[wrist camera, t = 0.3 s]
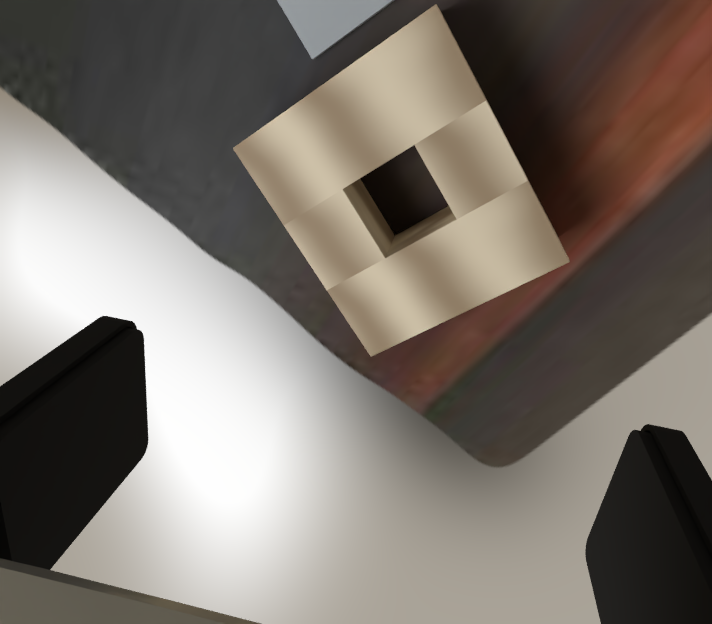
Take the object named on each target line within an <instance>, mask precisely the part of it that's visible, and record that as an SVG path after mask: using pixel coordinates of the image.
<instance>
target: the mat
mask: <svg viewBox="0 0 712 624" xmlns="http://www.w3.org/2000/svg"><path fill="white" fill-rule="evenodd" d="M277 1H278V2H279V4H280V6H281V7H282V9H283V11H284V12H285V14H286V16H287V18H288V19H289V21H290V23H291V24H292V26H293V28H294V29H295V31H296V33H297V34H298V36H299V38H300V39H301V41H302V43H303V44H304V46H305V48H306V49H307V51H308V53H309V55H310V56H311V58H312V59H316V58H317V57H319V56H320V55H321V54H323V53H324V52H325V51H327V50H328V49H329V48H331V47H332V46H334V45H335V44H336V43H338V42H339V41H340V40H342V39H343V38H344V37H346V36H347V35H349V34H350V33H351V32H353V31H354V30H355V29H357V28H358V27H359V26H361V25H362V24H363V23H365V22H366V21H368V20H369V19H370V18H372V17H373V16H374V15H376V14H377V13H378V12H380V11H381V10H383V9H384V8H385V7H387V6H388V5H389V4H391V3H392V2H393V1H395V0H277Z"/></svg>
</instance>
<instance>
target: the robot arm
mask: <svg viewBox="0 0 712 624" xmlns="http://www.w3.org/2000/svg"><path fill="white" fill-rule="evenodd" d="M147 424H148V423H147V402H146V379H145V356H144V338H143V333H142V332H141V331H140V330H137V328H136V325H135V323H133V322H132V321H128V320H123V319H118V318H113V317H108V316H102V317H100V318H98V319H97V320H95V321H94V322H93V323H91V324H90V325H88V326H87V327H85V328H84V329H83V330H81V331H80V332H78V333H77V334H75V335H74V336H72V337H71V338H69V339H68V340H67V341H65V342H64V343H62V344H61V345H60V346H58V347H56V348H55V349H54V350H52V351H51V352H49V353H48V354H47V355H45V356H43V357H42V358H41V359H39V360H38V361H36V362H35V363H33V364H32V365H31V366H29V367H28V368H26V369H25V370H23V371H22V372H21V373H19V374H18V375H16V376H15V377H13V378H12V379H10V380H9V381H7V382H6V383H5V384H3V385H2V386H0V624H260V623H256V622H252V621H249V620H244V619H241V618H237V617H233V616H229V615H225V614H221V613H218V612H214V611H210V610H206V609H202V608H198V607H194V606H190V605H186V604H182V603H179V602H175V601H171V600H167V599H163V598H159V597H155V596H150V595H147V594H143V593H139V592H135V591H131V590H127V589H123V588H119V587H115V586H111V585H107V584H103V583H99V582H95V581H91V580H87V579H83V578H79V577H75V576H71V575H67V574H63V573H59V572H55V571H51V570H50V569H51V568H52V567H53V565H54V564H55V563H56V562H57V561H58V559H59V558H60V557H61V556H62V555H63V553H64V552H65V551H66V550H67V548H68V547H69V546H70V545H71V544H72V542H73V541H74V540H75V539H76V538H77V536H78V535H79V534H80V533H81V532H82V530H83V529H84V528H85V527H86V525H87V524H88V523H89V522H90V520H91V519H92V518H93V517H94V516H95V514H96V513H97V512H98V511H99V510H100V508H101V507H102V506H103V505H104V503H105V502H106V501H107V500H108V499H109V498H110V496H111V495H112V494H113V493H114V491H115V490H116V489H117V488H118V486H119V485H120V484H121V483H122V482H123V481H124V479H125V478H126V477H127V476H128V475H129V473H130V472H131V471H132V470H133V469H134V467H135V466H136V465H137V464H138V462H139V461H140V460H141V459H142V457H143V456H144V454H145V452H146V448H147V445H148V425H147ZM586 562H587V566H588V570H589V574H590V579H591V583H592V587H593V591H594V595H595V600H596V604H597V609H598V613H599V617H600V621H601V624H712V480H711V478H710V477H709V475H708V473H707V471H706V470H705V468H704V466H703V465H702V463H701V461H700V459H699V458H698V456H697V454H696V452H695V451H694V449H693V447H692V445H691V444H690V442H689V440H688V439H687V437H686V435H685V434H684V433H683V432H682V431H679V430H674V429H669V428H664V427H659V426H654V425H649V424H647V425H645V426H644V427H643V428H642V429H641V431H638V430H633V431H632V432H631V433H630V435H629V437H628V439H627V442H626V444H625V447H624V449H623V452H622V454H621V457H620V459H619V462H618V464H617V467H616V469H615V471H614V474H613V476H612V479H611V481H610V484H609V487H608V489H607V492H606V494H605V496H604V499H603V501H602V504H601V506H600V509H599V511H598V514H597V516H596V519H595V521H594V524H593V526H592V529H591V532H590V534H589V536H588V539H587V543H586Z"/></svg>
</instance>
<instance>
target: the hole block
mask: <svg viewBox="0 0 712 624" xmlns="http://www.w3.org/2000/svg"><path fill="white" fill-rule="evenodd" d="M413 145H415V147H416V149H417V150H418V152H419V154H420V156H421V157H422V159H423V161H424V163H425V165H426V166H427V168H428V170H429V172H430V173H431V175H432V177H433V179H434V180H435V182H436V184H437V186H438V187H439V189H440V191H441V193H442V194H443V196H444V198H445V200H446V201H447V203H448V205H449V206H447V207H446V208H444V209H442V210H440V211H438V212H437V213H435V214H433V215H431V216H430V217H428V218H426V219H424V220H422V221H421V222H419V223H417V224H415V225H413V226H412V227H410V228H408V229H406V230H404V231H403V232H401V233H399V234H397V235H394V233H393V232H392V230H391V229H390V227H389V225H388V224H387V222H386V220H385V219H384V217H383V215H382V214H381V212H380V210H379V209H378V207H377V205H376V204H375V202H374V201H373V199H372V197H371V196H370V194H369V192H368V191H367V189H366V187H365V186H364V184H363V182H362V181H361V179H360V178H361V177H363V176H365V175H366V174H368V173H370V172H371V171H373V170H374V169H376V168H378V167H379V166H381V165H382V164H384V163H386V162H387V161H389V160H391V159H392V158H394V157H395V156H397V155H399V154H400V153H402V152H404V151H405V150H407V149H408V148H410V147H412V146H413ZM233 149H234V151H235V152H236V154H237V155H238V157H239V158H240V160H241V161H242V163H243V164H244V166H245V167H246V169H247V170H248V172H249V173H250V175H251V176H252V178H253V179H254V181H255V182H256V184H257V185H258V187H259V189H260V190H261V192H262V193H263V195H264V196H265V198H266V199H267V201H268V202H269V204H270V205H271V207H272V208H273V210H274V211H275V213H276V214H277V216H278V217H279V219H280V220H281V222H282V223H283V225H284V226H285V228H286V229H287V231H288V232H289V234H290V235H291V237H292V238H293V240H294V241H295V243H296V244H297V246H298V247H299V249H300V250H301V252H302V253H303V255H304V256H305V258H306V259H307V261H308V262H309V264H310V265H311V267H312V269H313V270H314V272H315V273H316V275H317V276H318V278H319V279H320V281H321V282H322V284H323V285H324V287H325V288H326V290H327V291H328V293H329V294H330V296H331V297H332V299H333V300H334V302H335V303H336V305H337V306H338V308H339V309H340V311H341V312H342V314H343V315H344V317H345V318H346V320H347V321H348V323H349V324H350V326H351V327H352V329H353V330H354V332H355V333H356V335H357V336H358V338H359V339H360V341H361V342H362V344H363V345H364V347H365V348H366V350H367V352H368V353H369V355H370V356H373V355H375V354H377V353H380V352H382V351H384V350H386V349H388V348H390V347H392V346H394V345H396V344H398V343H401V342H403V341H405V340H407V339H409V338H411V337H413V336H415V335H417V334H419V333H422V332H424V331H426V330H428V329H430V328H432V327H434V326H436V325H438V324H440V323H443V322H445V321H447V320H449V319H451V318H453V317H455V316H457V315H459V314H461V313H464V312H466V311H468V310H470V309H472V308H474V307H476V306H478V305H480V304H482V303H485V302H487V301H489V300H491V299H493V298H495V297H497V296H499V295H501V294H503V293H505V292H508V291H510V290H512V289H514V288H516V287H518V286H520V285H522V284H524V283H526V282H529V281H531V280H533V279H535V278H537V277H539V276H541V275H543V274H545V273H547V272H550V271H552V270H554V269H556V268H558V267H560V266H562V265H564V264H566V263H568V262H570V260H569V258H568V256H567V254H566V252H565V250H564V248H563V246H562V244H561V242H560V240H559V238H558V236H557V234H556V232H555V230H554V228H553V226H552V224H551V222H550V220H549V219H548V217H547V215H546V213H545V211H544V209H543V207H542V205H541V203H540V201H539V199H538V197H537V195H536V193H535V192H534V190H533V188H532V186H531V184H530V182H529V180H528V178H527V176H526V174H525V172H524V170H523V168H522V167H521V165H520V163H519V161H518V159H517V157H516V155H515V153H514V151H513V149H512V147H511V145H510V143H509V141H508V140H507V138H506V136H505V134H504V132H503V130H502V128H501V126H500V124H499V122H498V120H497V118H496V116H495V115H494V113H493V111H492V109H491V107H490V105H489V103H488V101H487V99H486V97H485V95H484V93H483V91H482V89H481V88H480V86H479V84H478V82H477V80H476V78H475V76H474V74H473V72H472V70H471V68H470V66H469V64H468V63H467V61H466V59H465V57H464V55H463V53H462V51H461V49H460V47H459V45H458V43H457V41H456V39H455V37H454V36H453V34H452V32H451V30H450V28H449V26H448V24H447V22H446V20H445V18H444V16H443V14H442V12H441V11H440V9H439V8H438V6H437V4H436V5H434V6H433V7H431V8H430V9H429V10H427V11H426V12H424V13H423V14H421V15H420V16H419V17H417V18H416V19H414V20H413V21H412V22H410V23H409V24H407V25H406V26H405V27H403V28H402V29H400V30H399V31H398V32H396V33H395V34H393V35H392V36H390V37H389V38H388V39H386V40H385V41H383V42H382V43H381V44H379V45H378V46H376V47H375V48H374V49H372V50H371V51H369V52H368V53H367V54H365V55H364V56H362V57H361V58H359V59H358V60H357V61H355V62H354V63H352V64H351V65H350V66H348V67H347V68H345V69H344V70H343V71H341V72H340V73H338V74H337V75H336V76H334V77H333V78H331V79H330V80H328V81H327V82H326V83H324V84H323V85H321V86H320V87H319V88H317V89H316V90H314V91H313V92H312V93H310V94H309V95H307V96H306V97H305V98H303V99H302V100H300V101H299V102H298V103H296V104H295V105H293V106H292V107H290V108H289V109H288V110H286V111H285V112H283V113H282V114H281V115H279V116H278V117H276V118H275V119H274V120H272V121H271V122H269V123H268V124H267V125H265V126H264V127H262V128H261V129H259V130H258V131H257V132H255V133H254V134H252V135H251V136H250V137H248V138H247V139H245V140H244V141H243V142H241V143H240V144H238V145H237V146H236V147H234V148H233Z"/></svg>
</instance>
